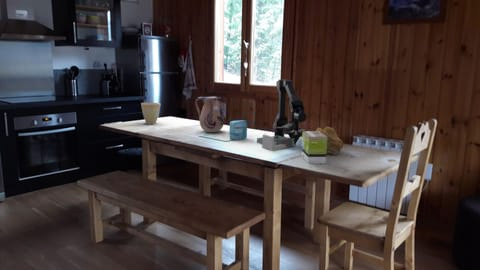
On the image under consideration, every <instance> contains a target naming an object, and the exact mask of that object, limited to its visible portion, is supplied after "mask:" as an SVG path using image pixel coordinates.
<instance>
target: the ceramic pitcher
mask: <svg viewBox="0 0 480 270" xmlns="http://www.w3.org/2000/svg"><path fill="white" fill-rule="evenodd" d="M200 100H202V102H203V106H202V109H201V110H200V108H199V104H198V103H199V102H198V101H200ZM194 101H195V108H196V111H197V113H198V120H199V125H200V128H201V129H202V130H203V131H204V132H206V133H218V132H219V131H221V130H222V129H223V127H224V124H225V119H224V118H225V117H224V113H223V110H222V105H221V101H222V98H221V97H218V96H199V97H197V98H196V99H195V100H194Z"/></svg>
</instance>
